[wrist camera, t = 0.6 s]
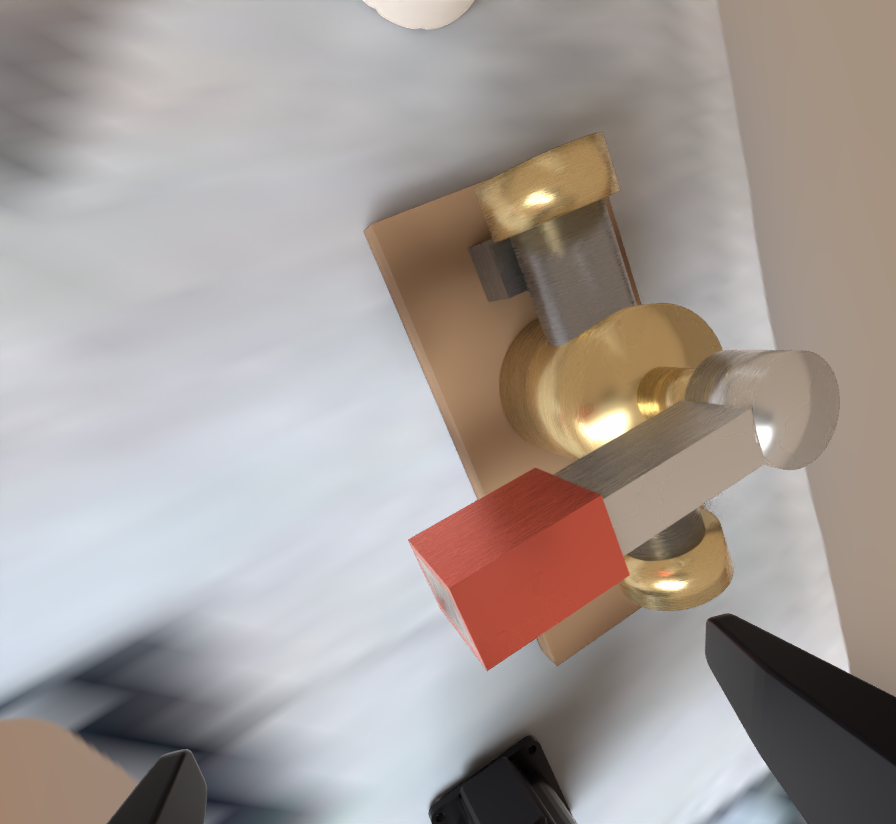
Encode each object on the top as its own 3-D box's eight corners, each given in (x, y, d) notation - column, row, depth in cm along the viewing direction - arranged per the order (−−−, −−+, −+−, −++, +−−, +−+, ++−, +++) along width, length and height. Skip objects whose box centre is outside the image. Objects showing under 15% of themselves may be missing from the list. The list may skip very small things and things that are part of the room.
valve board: (696, 545, 32) (717, 554, 30) (541, 650, 29) (557, 666, 27) (572, 150, 26) (590, 139, 25) (363, 231, 23) (371, 224, 22)
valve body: (666, 513, 29) (841, 582, 20) (568, 576, 27) (715, 681, 19) (553, 167, 24) (717, 72, 16) (426, 216, 22) (536, 140, 14)
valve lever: (741, 333, 17) (837, 331, 14) (764, 424, 18) (860, 438, 15) (399, 523, 14) (439, 568, 11) (447, 623, 15) (495, 689, 12)
